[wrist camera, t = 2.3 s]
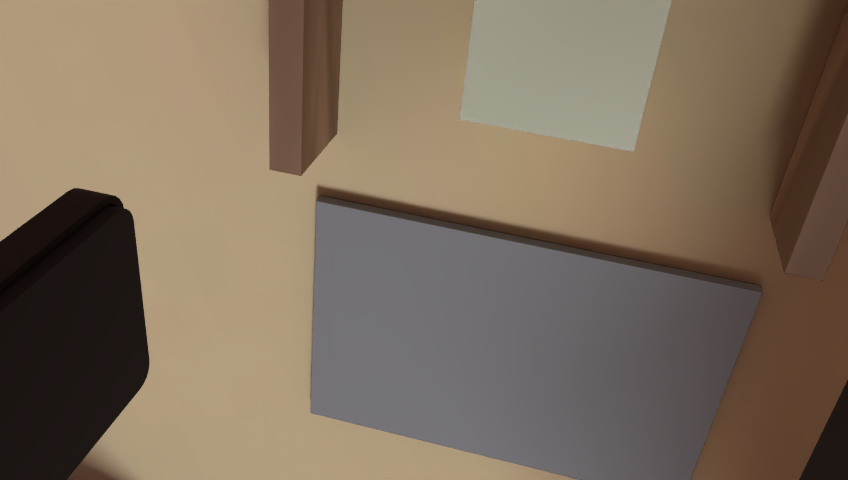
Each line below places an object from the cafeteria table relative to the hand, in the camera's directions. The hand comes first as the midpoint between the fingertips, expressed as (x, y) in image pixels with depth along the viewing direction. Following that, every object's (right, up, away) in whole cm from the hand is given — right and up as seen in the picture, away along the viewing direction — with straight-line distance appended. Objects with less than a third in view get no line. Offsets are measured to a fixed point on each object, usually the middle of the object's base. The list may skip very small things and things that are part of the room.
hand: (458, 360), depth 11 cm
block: (+5, +10, +17) cm, 20 cm away
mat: (+3, -3, +25) cm, 26 cm away
